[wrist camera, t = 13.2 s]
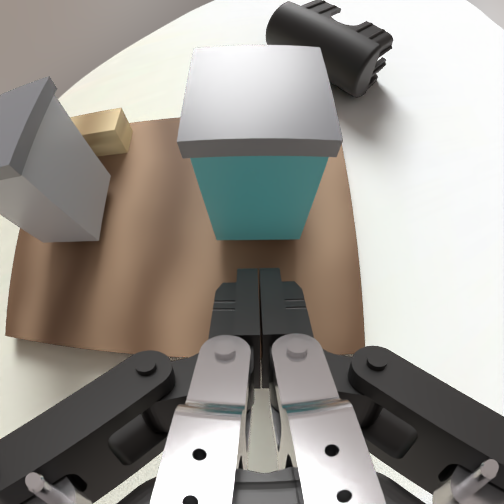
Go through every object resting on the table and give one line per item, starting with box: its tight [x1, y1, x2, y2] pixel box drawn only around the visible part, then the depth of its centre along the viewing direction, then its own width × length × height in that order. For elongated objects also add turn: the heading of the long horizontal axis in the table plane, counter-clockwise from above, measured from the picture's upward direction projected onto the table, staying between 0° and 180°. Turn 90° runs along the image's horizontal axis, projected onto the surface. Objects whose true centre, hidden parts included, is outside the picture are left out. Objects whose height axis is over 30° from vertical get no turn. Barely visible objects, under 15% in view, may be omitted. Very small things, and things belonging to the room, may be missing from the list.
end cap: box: [266, 0, 393, 97], centre depth 24 cm, size 10×7×7 cm
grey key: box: [0, 76, 111, 243], centre depth 15 cm, size 5×5×10 cm
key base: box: [5, 108, 365, 358], centre depth 20 cm, size 26×18×4 cm
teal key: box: [177, 45, 343, 240], centre depth 15 cm, size 5×5×10 cm
